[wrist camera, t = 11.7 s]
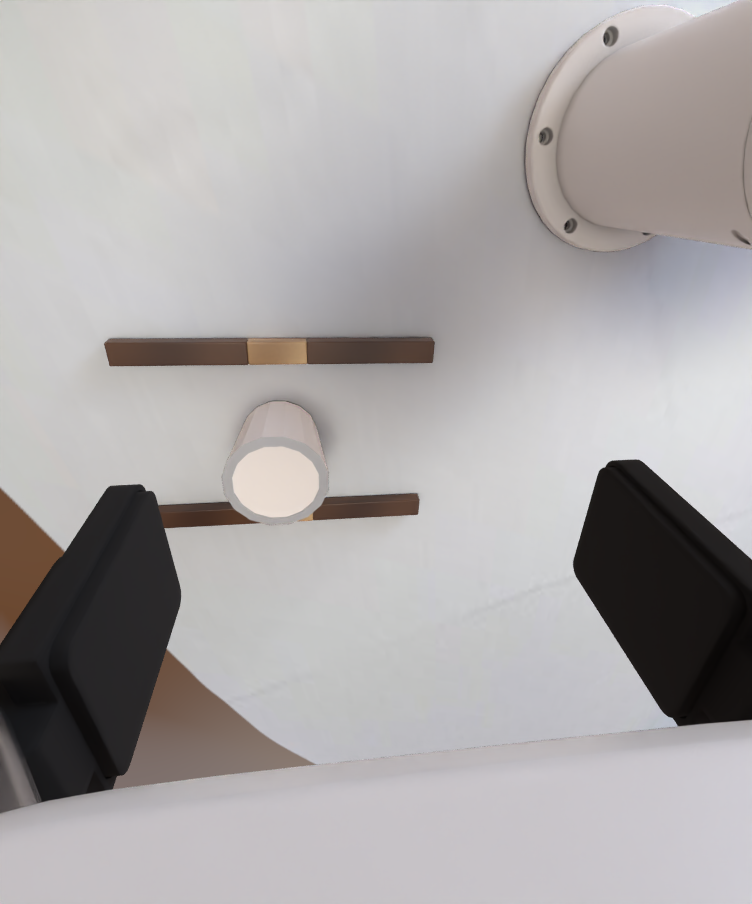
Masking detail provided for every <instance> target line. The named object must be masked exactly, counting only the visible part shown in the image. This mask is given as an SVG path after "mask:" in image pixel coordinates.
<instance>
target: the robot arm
mask: <svg viewBox="0 0 752 904" xmlns="http://www.w3.org/2000/svg"><path fill="white" fill-rule="evenodd" d="M603 35H604V36H605V38H606V42H605V44H604V42H603ZM540 133H542V134H543V139H542V141H541V142H540V141H539V134H540ZM525 167H526V175H527V184H528V189H529V192H530V195H531V198H532V202H533V205H534V207H535V209H536V210H537V212H538V214H539V216H540V218H541V220H542V221H543V222H544V223H545V225H546V226H547V227H548V228H549V229H550V230H551V232H552V233H553V234H555V235H556V236H557V237H559V238H560V239H562V240H563V241H565V242H566V243H568V244H571V245H573V246H576V247H578V248H581V249H586V250H591V251H595V252H614V251H619V250H624V249H629V248H631V247H634V246H636V245H639V244H641V243H644V242H646V241H648V240H649V239H651V238H653V237H654V236H656V235H663V236H670V237H676V238H682V239H689V240H695V241H701V242H708V243H714V244H720V245H727V246H733V247H739V248H745V249H752V0H738V1H736V2H733V3H731V4H728V5H726V6H723V7H721V8H719V9H716V10H714V11H711V12H709V13H706V14H704V15H701V16H699V17H695V16H694V15H692V14H690V13H689V12H687V11H685V10H684V9H680V8H676V7H672V6H668V5H643V6H640V7H636V8H633V9H630V10H626V11H623V12H621V13H619V14H617V15H615V16H613V17H611V18H609V19H607V20H605V21H603V22H602V23H600V24H599V25H597V26H596V27H594V28H593V29H591V30H590V31H589V32H587V33H586V34H584V35H583V36H582V37H581V38H580V39H579V40H578V41H577V42H576V43H575V44H574V45H573V46H572V47H571V48H570V49H569V50H568V51H567V52H566V53H565V55H564V56H563V57H562V59H561V60H560V61H559V63H558V64H557V66H556V67H555V68H554V70H553V71H552V72H551V74H550V76H549V78H548V80H547V82H546V84H545V86H544V87H543V89H542V91H541V93H540V95H539V98H538V100H537V103H536V106H535V109H534V112H533V115H532V117H531V121H530V126H529V131H528V137H527V142H526V161H525ZM566 222H567V227H566V228H565V229H564V225H565V223H566ZM573 567H574V572H575V575H576V577H577V579H578V580H579V582H580V583H581V585H582V587H583V588H584V590H585V591H586V593H587V594H588V596H589V597H590V599H591V601H592V602H593V604H594V605H595V607H596V608H597V610H598V612H599V613H600V615H601V616H602V618H603V619H604V621H605V623H606V624H607V626H608V627H609V629H610V630H611V632H612V634H613V635H614V637H615V638H616V640H617V641H618V643H619V645H620V646H621V648H622V649H623V651H624V652H625V654H626V656H627V657H628V659H629V660H630V662H631V663H632V665H633V666H634V668H635V670H636V671H637V673H638V674H639V676H640V677H641V679H642V681H643V682H644V684H645V685H646V687H647V688H648V690H649V692H650V693H651V695H652V696H653V698H654V699H655V701H656V703H657V704H658V706H659V707H660V709H661V710H662V711H663V713H664V714H666V715H667V716H668V717H671V718H673V719H674V720H675V722H676V724H677V725H678V727H668V728H658V729H648V730H639V731H629V732H619V733H609V734H599V735H589V736H579V737H569V738H560V739H550V740H541V741H531V742H522V743H512V744H503V745H493V746H484V747H474V748H465V749H456V750H447V751H437V752H428V753H419V754H409V755H400V756H391V757H381V758H373V759H364V760H355V761H346V762H337V763H328V764H319V765H310V766H301V767H292V768H283V769H275V770H266V771H257V772H249V773H239V774H230V775H222V776H214V777H205V778H198V779H190V780H183V781H175V782H167V783H160V784H152V785H144V786H136V787H128V788H121V789H113V786H114V783H115V780H116V777H117V776H120V775H124V774H125V773H126V772H127V770H128V768H129V766H130V763H131V760H132V756H133V753H134V750H135V747H136V744H137V741H138V738H139V734H140V731H141V728H142V724H143V722H144V718H145V715H146V712H147V709H148V706H149V702H150V699H151V696H152V693H153V690H154V687H155V683H156V680H157V677H158V673H159V671H160V667H161V664H162V661H163V658H164V655H165V651H166V648H167V645H168V642H169V639H170V636H171V632H172V629H173V626H174V623H175V620H176V617H177V613H178V610H179V607H180V602H181V589H180V585H179V581H178V577H177V573H176V570H175V566H174V562H173V559H172V555H171V551H170V548H169V544H168V540H167V537H166V533H165V529H164V525H163V522H162V518H161V514H160V511H159V507H158V503H157V500H156V496H155V494H154V493H153V492H152V491H146V490H145V488H144V487H143V486H142V485H140V484H138V485H118V486H110V487H108V488H107V489H106V491H105V492H104V494H103V495H102V497H101V498H100V500H99V501H98V503H97V504H96V506H95V507H94V509H93V510H92V512H91V514H90V515H89V517H88V518H87V520H86V521H85V523H84V524H83V526H82V527H81V529H80V530H79V532H78V533H77V535H76V536H75V538H74V539H73V541H72V542H71V544H70V545H69V547H68V548H67V550H66V551H65V553H64V555H63V556H62V557H60V558H59V559H58V560H57V561H56V563H54V565H53V566H52V568H51V569H50V571H49V572H48V574H47V575H46V577H45V578H44V580H43V581H42V583H41V584H40V586H39V587H38V589H37V590H36V592H35V593H34V595H33V596H32V598H31V599H30V601H29V602H28V604H27V605H26V607H25V608H24V610H23V611H22V613H21V614H20V616H19V617H18V619H17V620H16V622H15V623H14V625H13V626H12V628H11V629H10V631H9V632H8V634H7V635H6V637H5V638H4V640H3V641H2V643H1V645H0V904H752V560H751V559H750V558H749V557H748V556H747V555H746V554H745V553H744V552H743V551H741V550H740V549H739V548H738V547H737V546H736V545H735V544H734V543H732V542H731V541H730V540H729V539H728V538H727V537H726V536H725V535H724V534H722V533H721V532H720V531H719V530H718V529H717V528H716V527H715V526H714V525H712V524H711V523H710V522H709V521H708V520H707V519H706V518H705V517H703V516H702V515H701V514H700V513H699V512H698V511H697V510H696V509H695V508H693V507H692V506H691V505H690V504H689V503H688V502H687V501H686V500H685V499H683V498H682V497H681V496H680V495H679V494H678V493H677V492H676V491H674V490H673V489H672V488H671V487H670V486H669V485H668V484H667V483H666V482H664V481H663V480H662V479H661V478H660V477H659V476H658V475H657V474H656V473H654V472H653V471H652V470H651V469H650V468H649V467H648V466H647V465H645V464H644V463H643V462H642V461H640V460H616V461H610V462H609V463H608V464H607V465H606V467H605V468H602V469H601V470H600V471H599V473H598V476H597V480H596V483H595V487H594V490H593V494H592V497H591V501H590V504H589V508H588V511H587V515H586V518H585V522H584V525H583V529H582V532H581V536H580V539H579V543H578V546H577V550H576V553H575V557H574V561H573ZM112 789H113V790H112Z"/></svg>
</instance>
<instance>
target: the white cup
mask: <svg viewBox="0 0 752 904" xmlns="http://www.w3.org/2000/svg"><path fill="white" fill-rule="evenodd" d="M222 484H223V491H224V495H225V496H226V498H227V499H228V501H229V502H230V504H231V505H232V507H233V508H234V509H235V510H236V511H238V512H239V513H241V514H242V515H244V516H245V517H247V518H248V519H250V520H252V521H256V522H260V523H264V524H267V525H281V524H291V523H294V522H296V521H299V520H301V519H304V518H306V517H308V516H309V515H311V514H312V513H313V512H314V511H315V510H316V509H317V508H319V507H320V506H321V505H322V503H323V501H324V498H325V496H326V494H327V492H328V490H329V472H328V468H327V465H326V461H325V457H324V453H323V450H322V446H321V442H320V439H319V435H318V431H317V427H316V425H315V423H314V421H313V419H312V417H311V415H310V414H308V413H307V412H306V411H305V410H304V409H303V408H301V407H300V406H298V405H295V404H292V403H289V402H287V401H271V402H268V403H266V404H263V405H261V406H258V407H257V408H256V409H255V410H254V411H253V412H252V413H251V414H250V415H249V416H248V417H247V419H246V421H245V423H244V425H243V427H242V429H241V431H240V434H239V436H238V438H237V440H236V442H235V444H234V447H233V449H232V451H231V453H230V455H229V457H228V460H227V462H226V465H225V468H224V471H223V474H222Z"/></svg>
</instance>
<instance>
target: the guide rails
mask: <svg viewBox="0 0 752 904" xmlns="http://www.w3.org/2000/svg"><path fill="white" fill-rule="evenodd" d="M434 344H435V342H434V340H433V339H432V338H307V339H306V338H249V339H247V338H209V339H109V340H107V341H106V342H105V343H104V345H105V349H106V353H107V357H108V361H109V365H110V366H177V365H248V364H250V365H266V364H307V363H308V364H367V363H432V362H433V354H434ZM158 507H159V511H160V514H161V518H162V522H163V525H164V528H178V527H196V526H215V525H234V524H253V523H260V522H256V521H252V520H250V519H248V518H247V517H245V516H244V515H242V514H241V513H239V512H238V511H236V510H235V509H234V508H233V507H232V505H231V504H230V502H227V503H205V504H184V505H163V506H158ZM418 510H419V498H418V495H417V494H398V495H377V496H355V497H334V498H324V501H323V503H322V505H321V506H320V507H319V508H317V509H316V510H315V511H314V512H313V513H312V514H311V515H309V516H308V517H306V518H304V519H301V520H299V521H311V520H327V519H346V518H364V517H383V516H402V515H418Z"/></svg>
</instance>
